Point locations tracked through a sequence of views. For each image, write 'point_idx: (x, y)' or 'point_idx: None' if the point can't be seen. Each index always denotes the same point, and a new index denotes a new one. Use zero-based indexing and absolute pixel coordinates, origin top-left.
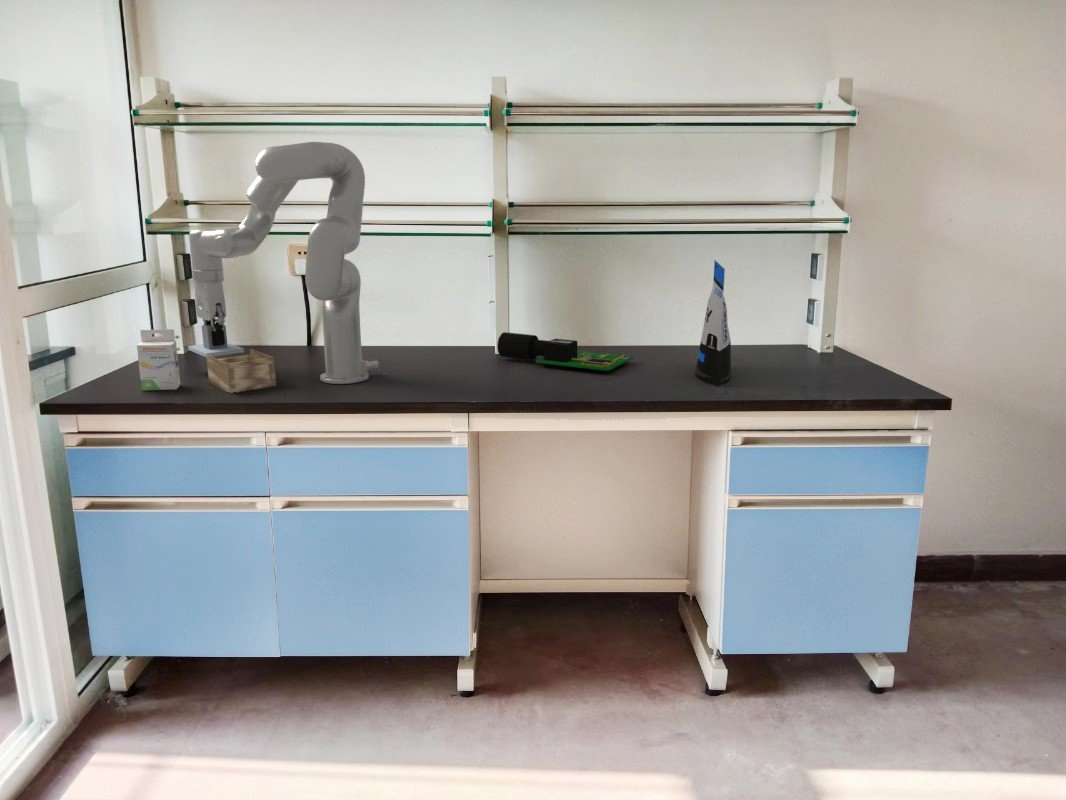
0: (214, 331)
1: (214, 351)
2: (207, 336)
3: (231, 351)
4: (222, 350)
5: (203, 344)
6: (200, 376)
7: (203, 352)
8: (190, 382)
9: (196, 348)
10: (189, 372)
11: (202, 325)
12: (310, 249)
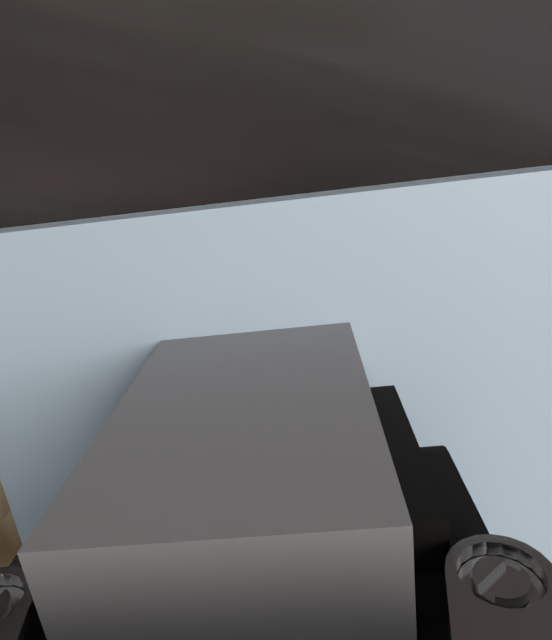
0: (4, 585)
1: (14, 361)
2: (122, 425)
3: (20, 507)
4: (32, 444)
5: (353, 336)
6: (255, 186)
7: (4, 236)
8: (74, 57)
9: (333, 226)
10: (464, 143)
11: (410, 548)
12: None
